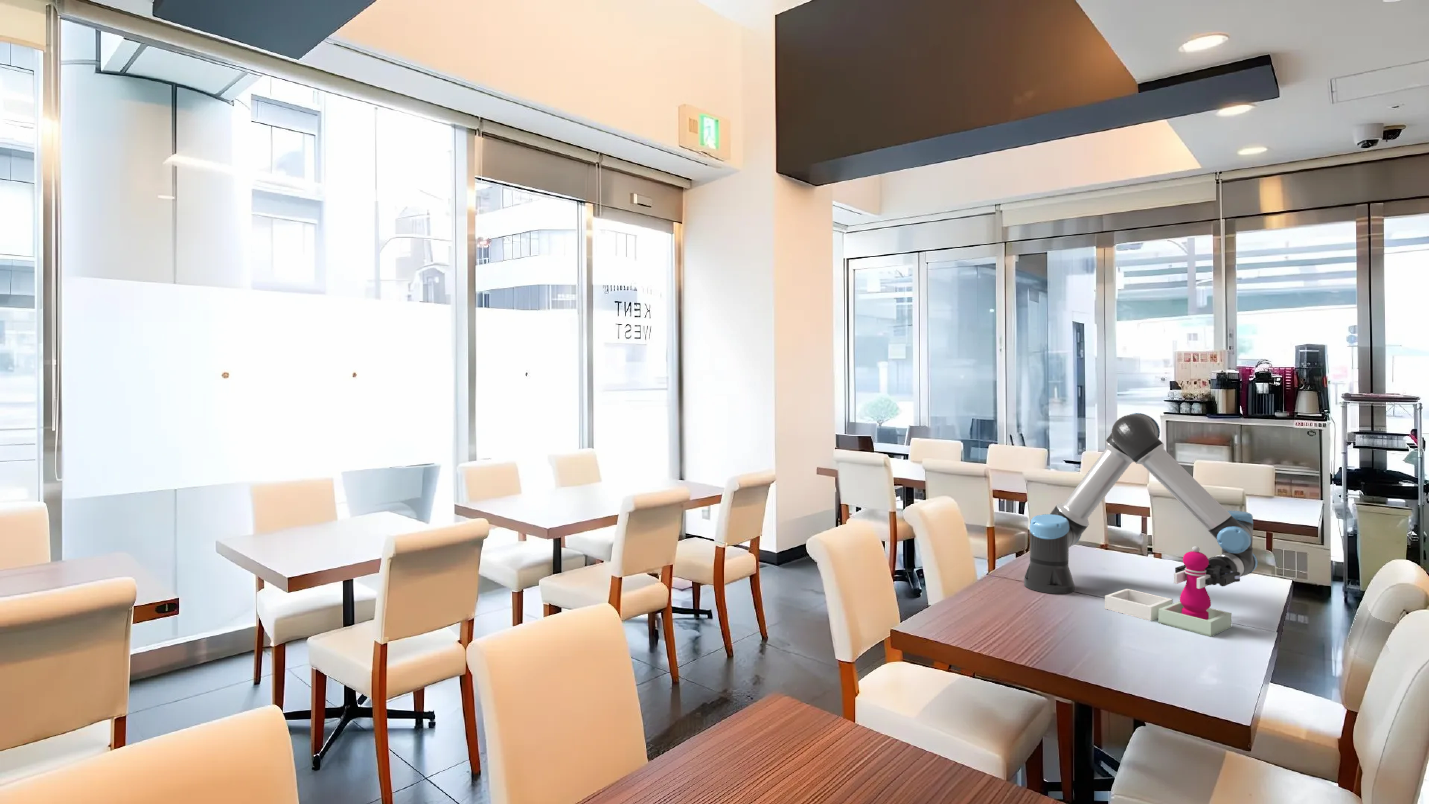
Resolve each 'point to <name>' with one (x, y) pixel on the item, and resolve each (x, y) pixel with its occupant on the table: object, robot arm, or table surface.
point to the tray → (1195, 620)
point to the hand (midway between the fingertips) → (1186, 581)
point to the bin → (1136, 603)
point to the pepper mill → (1195, 585)
